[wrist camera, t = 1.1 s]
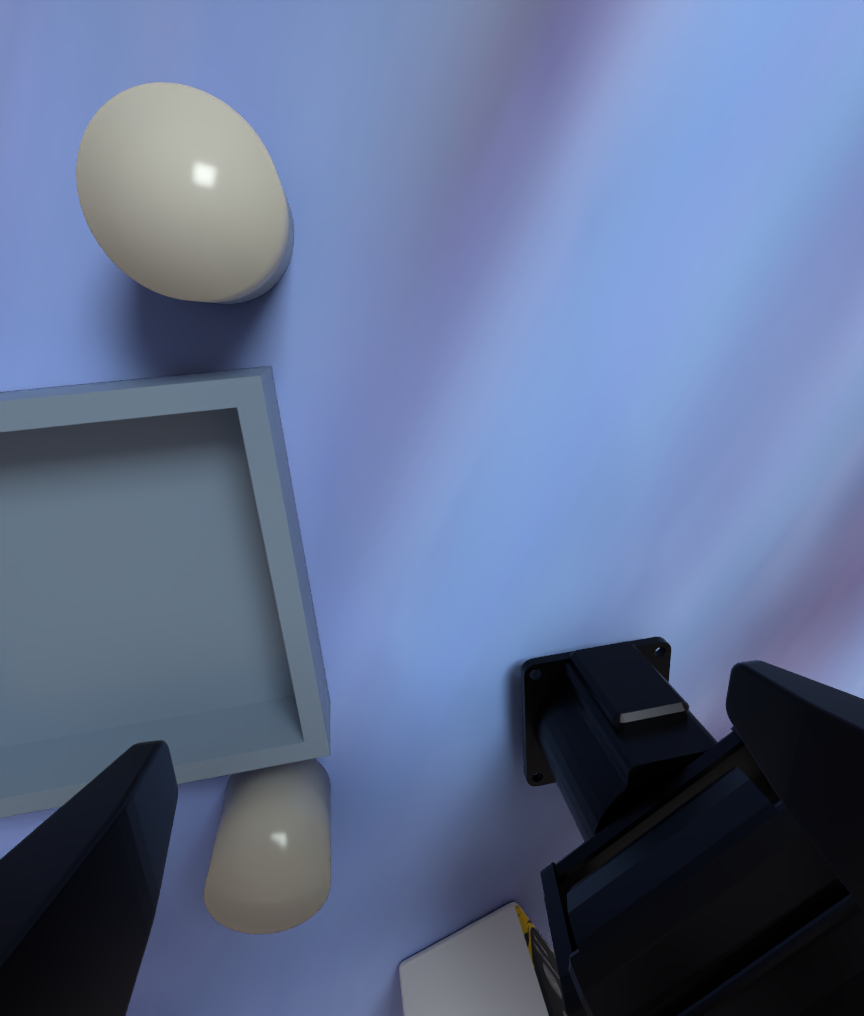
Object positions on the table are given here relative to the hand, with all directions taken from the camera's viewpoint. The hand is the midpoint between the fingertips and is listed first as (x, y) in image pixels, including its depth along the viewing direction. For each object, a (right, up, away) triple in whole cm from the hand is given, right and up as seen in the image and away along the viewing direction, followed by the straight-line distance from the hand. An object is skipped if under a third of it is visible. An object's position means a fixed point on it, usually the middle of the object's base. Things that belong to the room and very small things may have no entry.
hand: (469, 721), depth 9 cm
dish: (-12, +1, +11) cm, 16 cm away
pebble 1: (-7, +12, +8) cm, 16 cm away
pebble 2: (-7, -9, +15) cm, 19 cm away
